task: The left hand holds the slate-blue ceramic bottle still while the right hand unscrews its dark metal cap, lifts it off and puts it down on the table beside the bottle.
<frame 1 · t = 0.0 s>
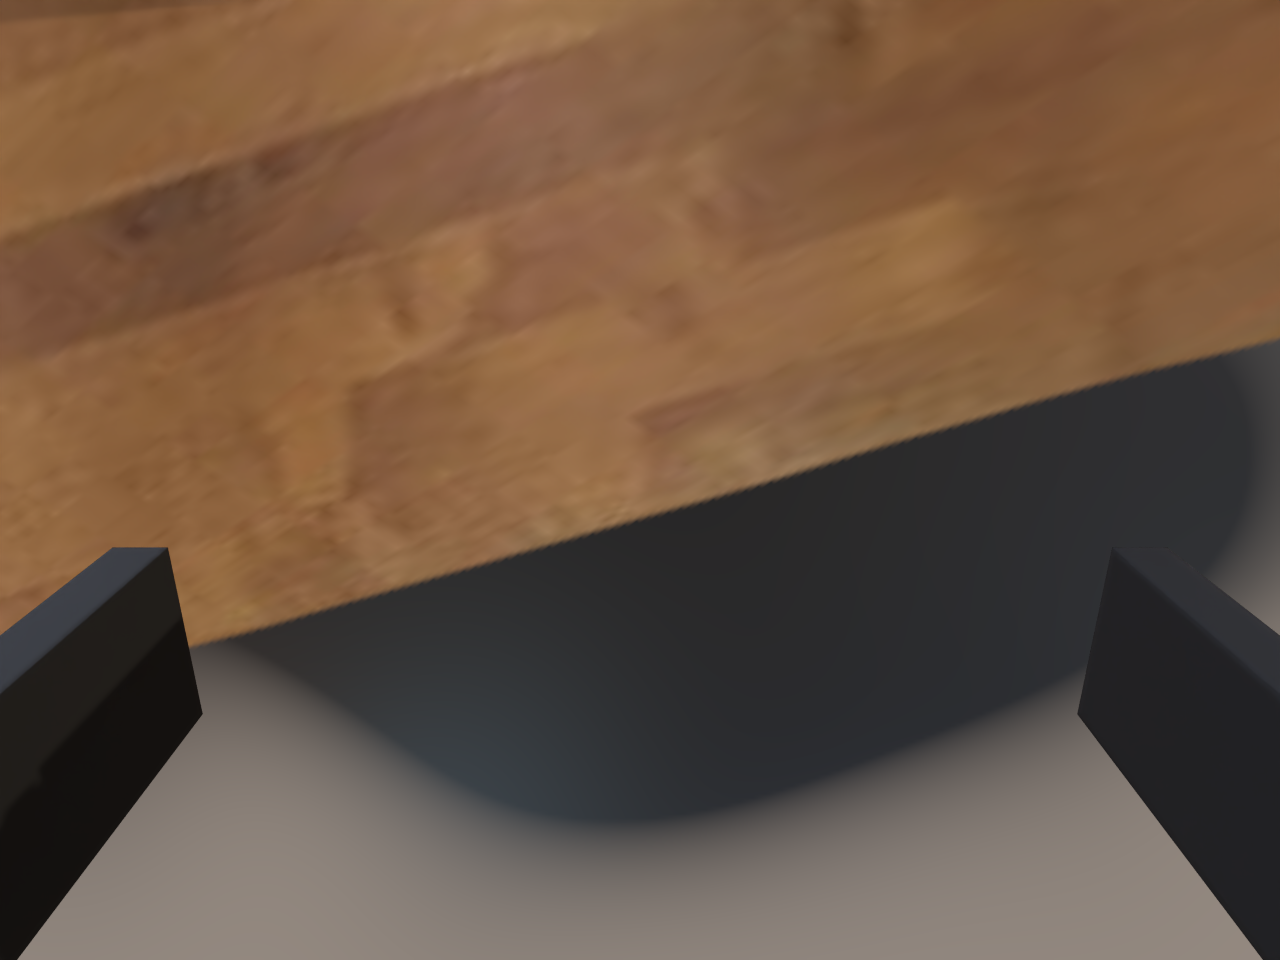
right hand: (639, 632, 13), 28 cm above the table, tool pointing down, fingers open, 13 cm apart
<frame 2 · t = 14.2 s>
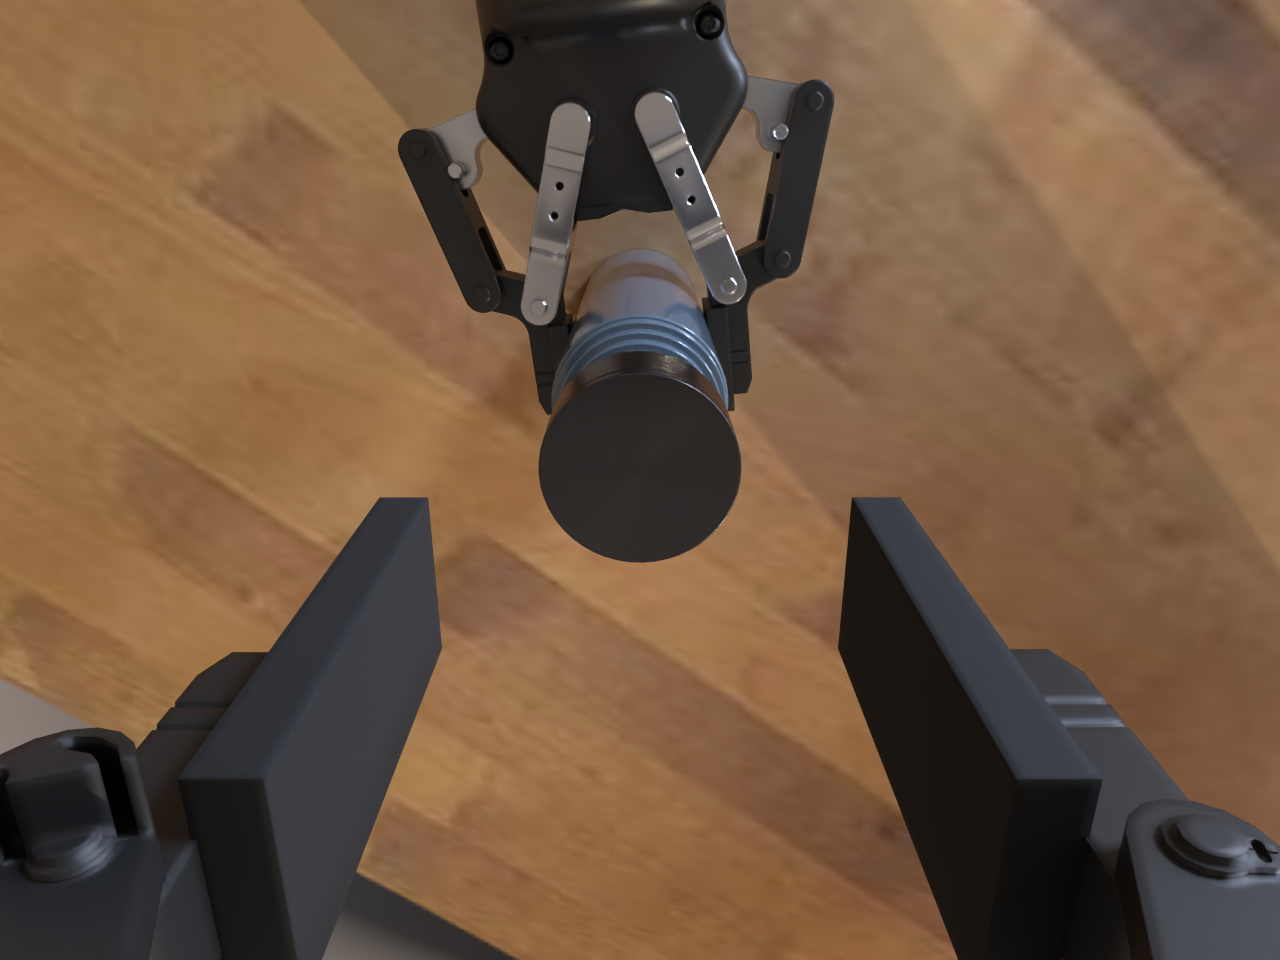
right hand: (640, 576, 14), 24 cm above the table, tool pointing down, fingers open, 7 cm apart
left hand: (647, 412, 32), fingers closed on bottle, 4 cm apart
bottle: (639, 307, 37), on the table, touching left hand
cap: (639, 466, 19), point 19 cm above the table, screwed on, not yet turned
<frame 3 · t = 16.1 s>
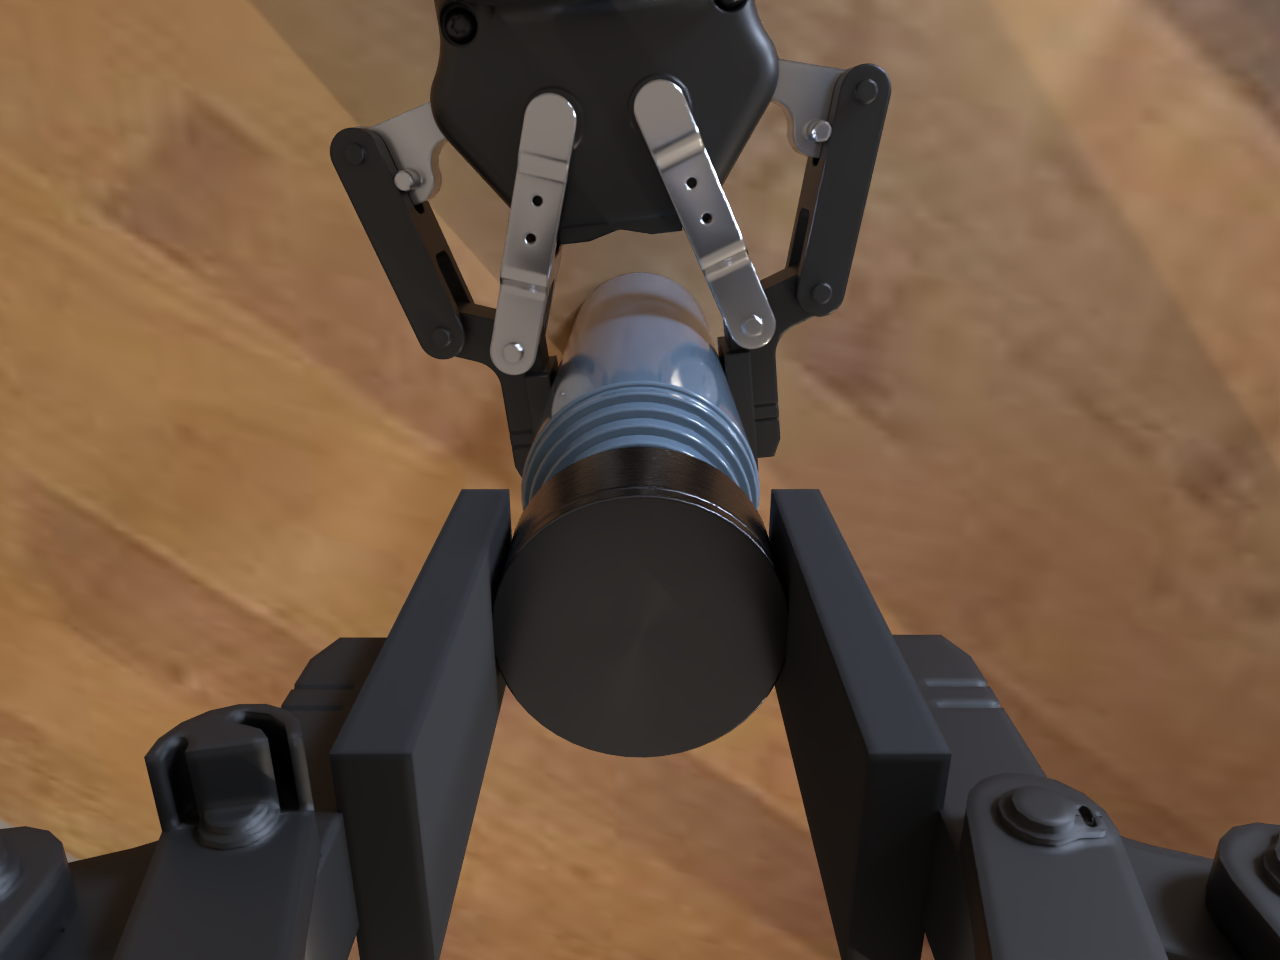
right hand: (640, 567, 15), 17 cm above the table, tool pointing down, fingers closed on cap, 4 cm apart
left hand: (649, 477, 26), fingers closed on bottle, 4 cm apart
bottle: (640, 341, 31), on the table, touching left hand
cap: (640, 624, 13), point 19 cm above the table, screwed on, not yet turned, touching right hand
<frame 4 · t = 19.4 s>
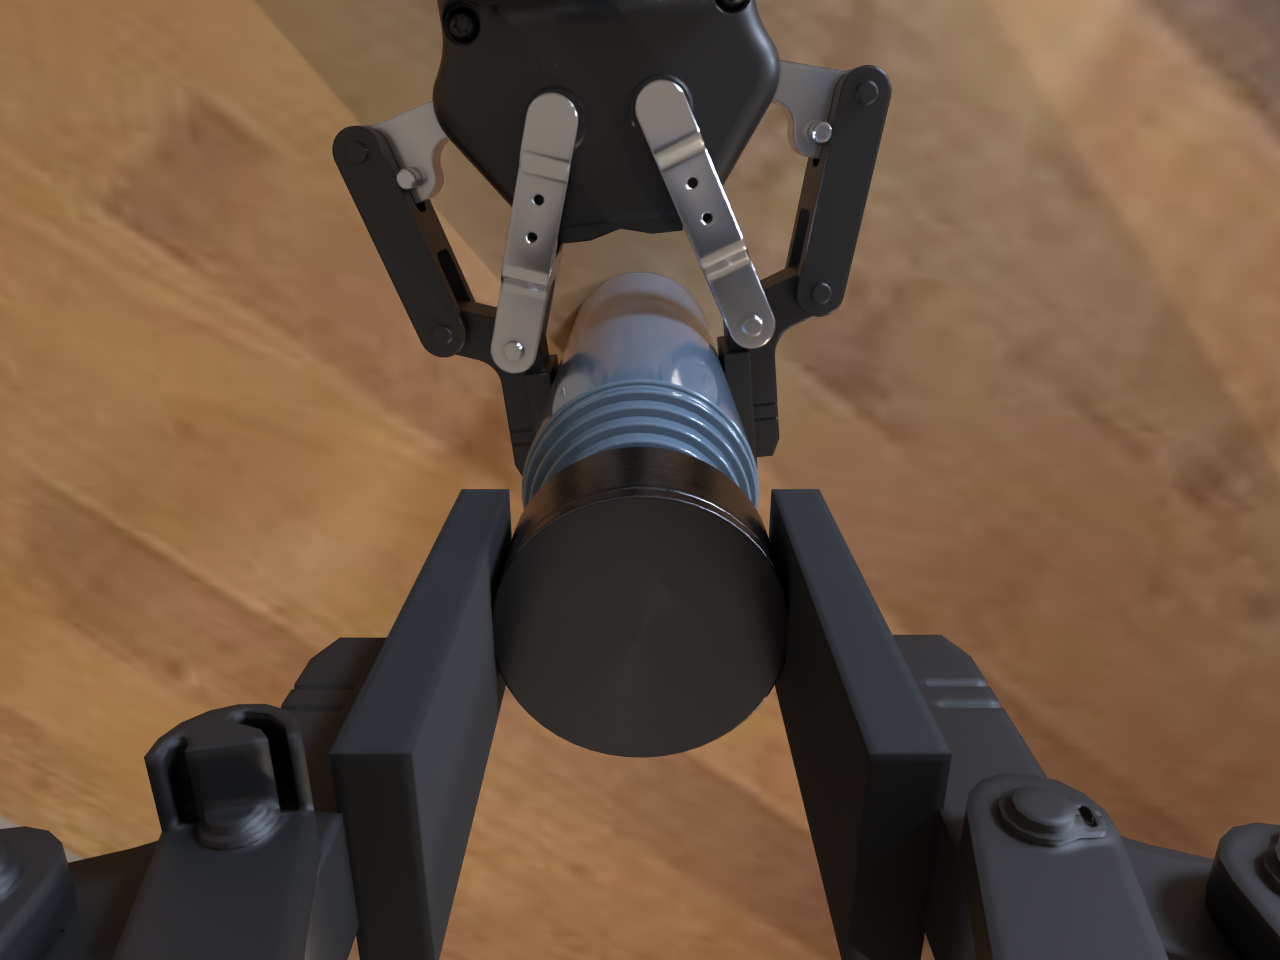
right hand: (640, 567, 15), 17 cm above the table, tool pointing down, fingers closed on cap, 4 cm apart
left hand: (648, 476, 26), fingers closed on bottle, 4 cm apart
bottle: (640, 340, 31), on the table, touching left hand
cap: (640, 624, 13), point 19 cm above the table, turned 113° so far, risen 0.1 cm, still on its thread, touching right hand
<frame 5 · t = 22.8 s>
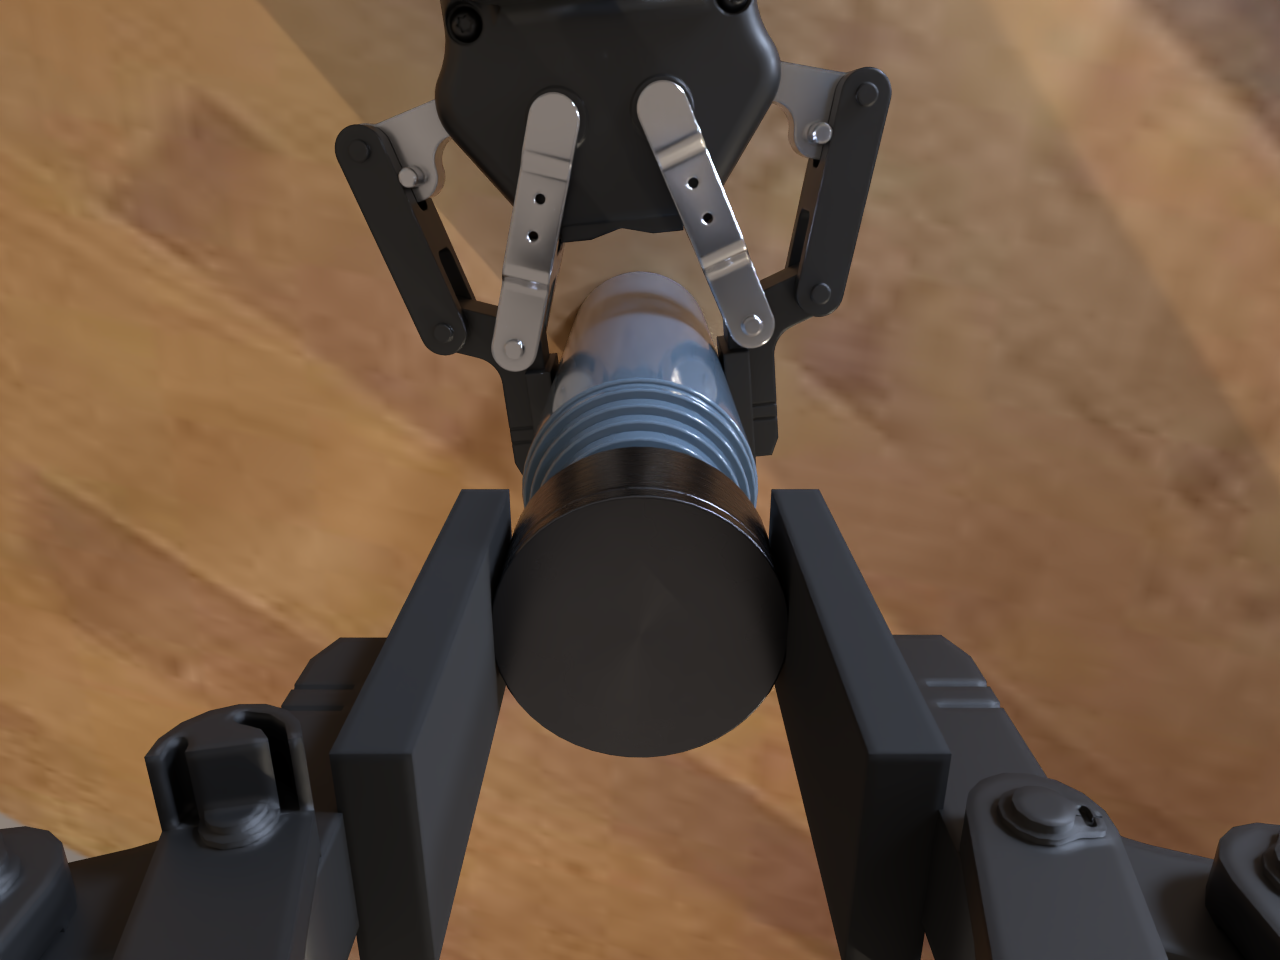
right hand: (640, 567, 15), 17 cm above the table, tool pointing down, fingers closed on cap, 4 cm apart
left hand: (648, 475, 26), fingers closed on bottle, 4 cm apart
bottle: (640, 340, 31), on the table, touching left hand
cap: (640, 624, 13), point 19 cm above the table, turned 227° so far, risen 0.2 cm, still on its thread, touching right hand
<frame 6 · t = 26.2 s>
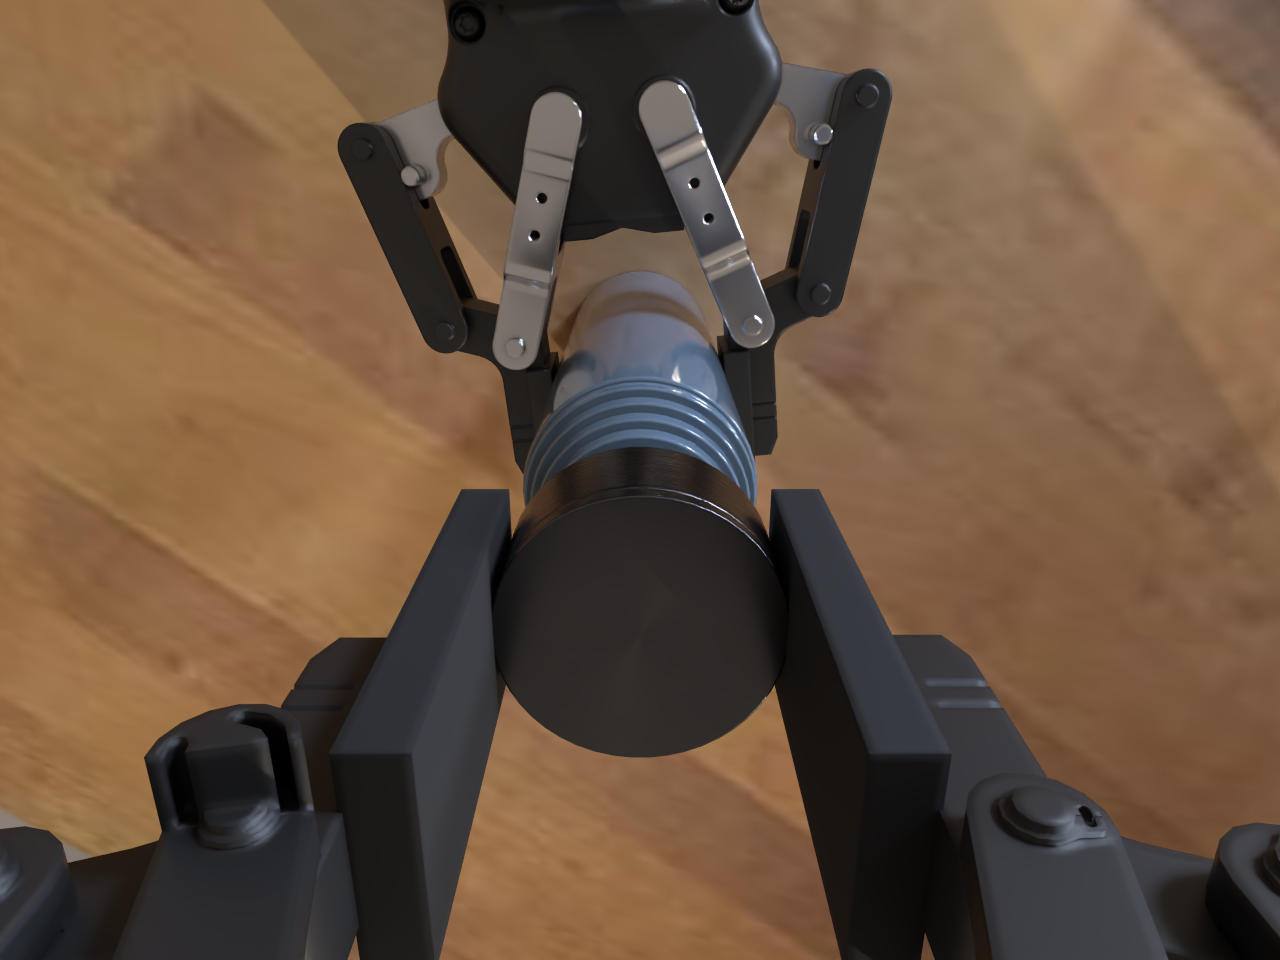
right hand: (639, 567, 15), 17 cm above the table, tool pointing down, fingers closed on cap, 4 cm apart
left hand: (647, 473, 26), fingers closed on bottle, 4 cm apart
bottle: (640, 339, 31), on the table, touching left hand
cap: (640, 624, 13), point 19 cm above the table, turned 340° so far, risen 0.3 cm, still on its thread, touching right hand
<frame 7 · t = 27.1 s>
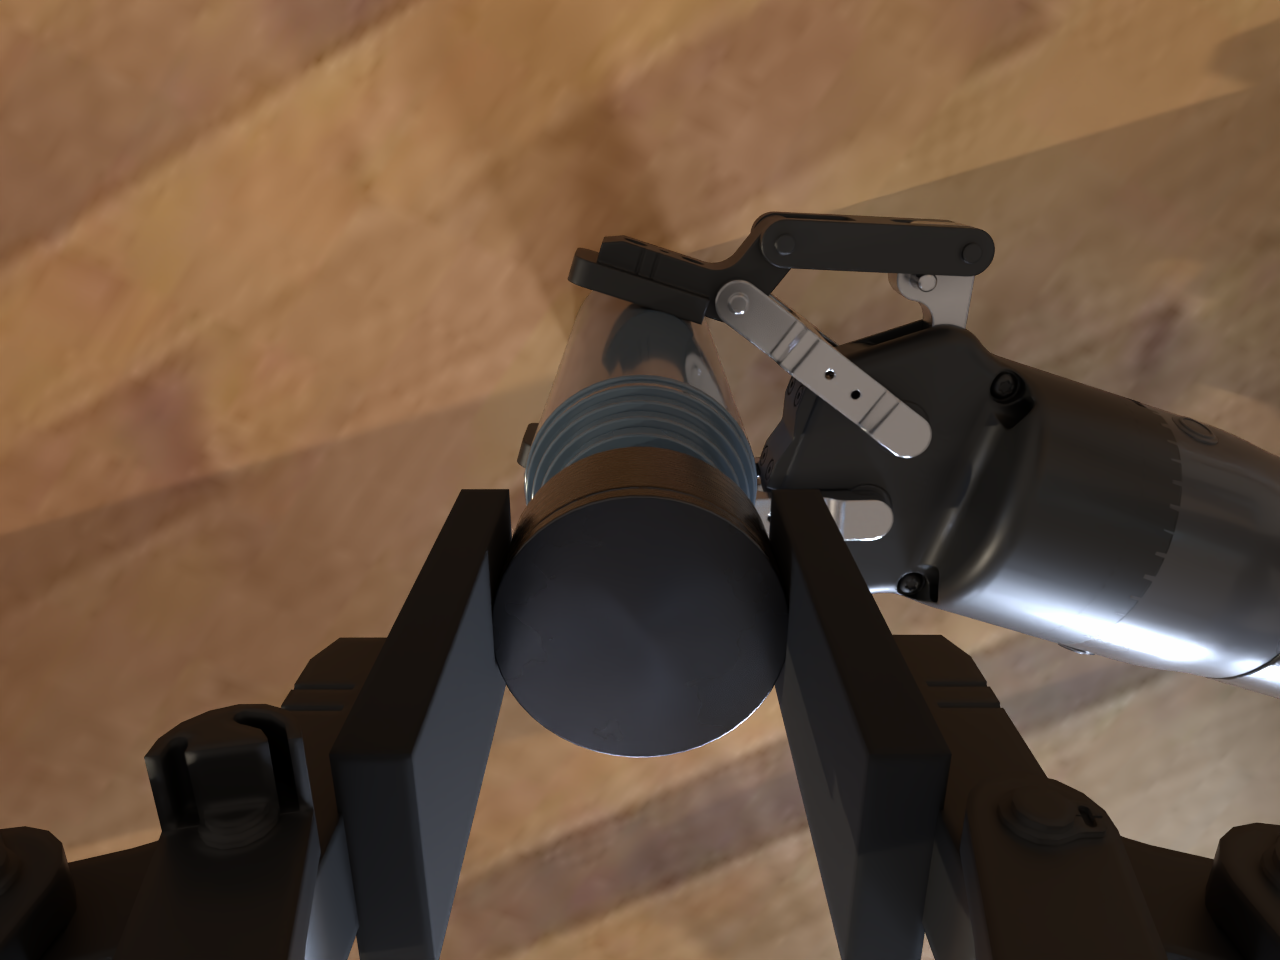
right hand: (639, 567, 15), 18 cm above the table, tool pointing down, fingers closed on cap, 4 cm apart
left hand: (550, 355, 25), fingers closed on bottle, 4 cm apart
bottle: (640, 338, 31), on the table, touching left hand
cap: (640, 624, 13), point 19 cm above the table, off its thread, touching right hand
when the right hand's fingers open (2 cm above the table, at t = 33.3 s): cap drops 2 cm, point 2 cm above the table.
when the left hand's fingers open (6 cm above the table, at t = 34.6 s): bottle stays where it is, on the table.
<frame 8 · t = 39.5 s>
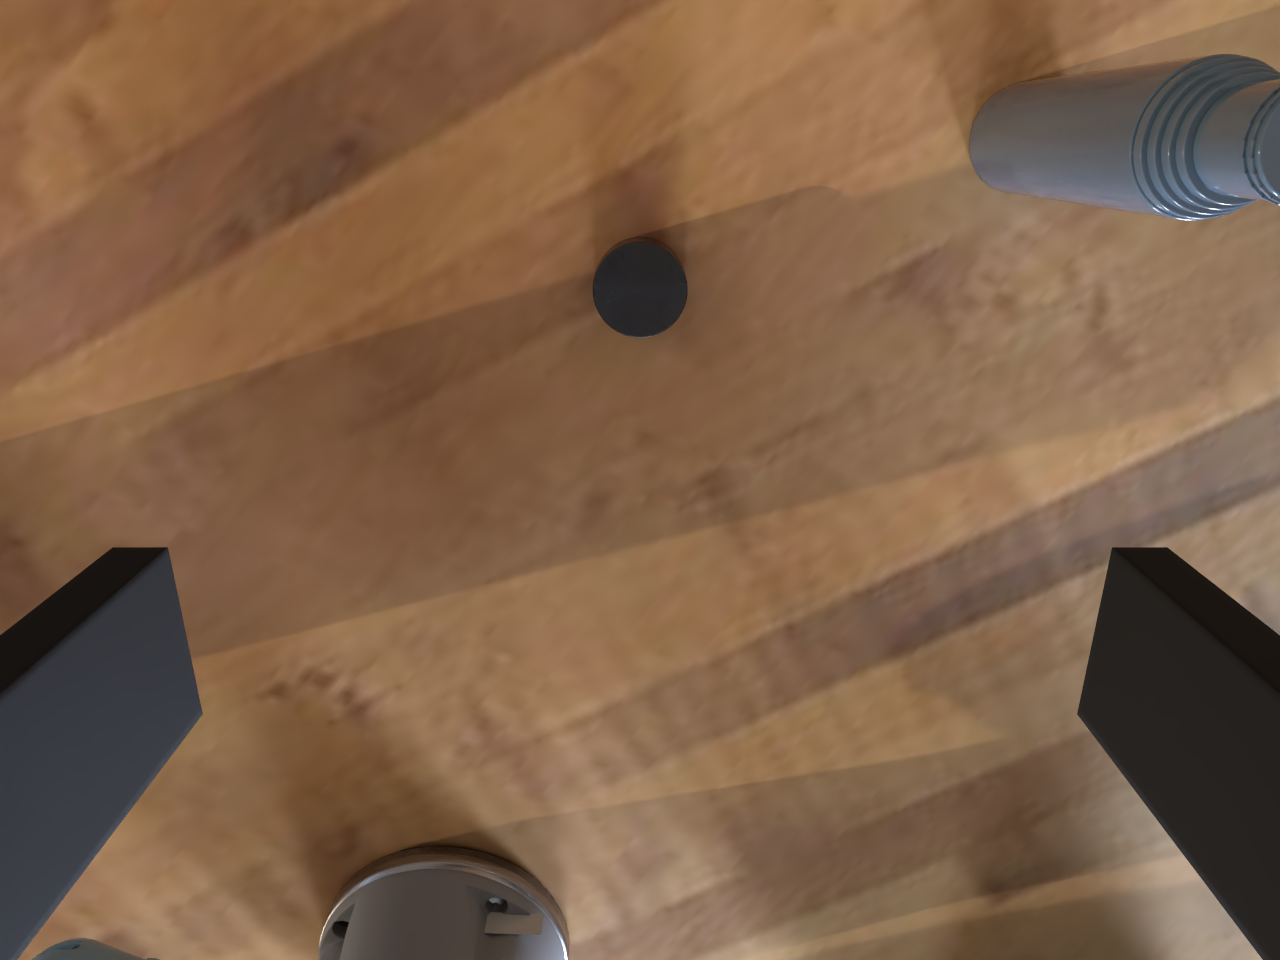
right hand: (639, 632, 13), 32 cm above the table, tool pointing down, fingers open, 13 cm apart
bottle: (1021, 138, 40), on the table
cap: (640, 289, 41), point 2 cm above the table, off its thread
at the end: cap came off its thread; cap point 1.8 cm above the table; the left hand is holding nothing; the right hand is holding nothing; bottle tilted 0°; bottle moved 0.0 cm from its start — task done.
